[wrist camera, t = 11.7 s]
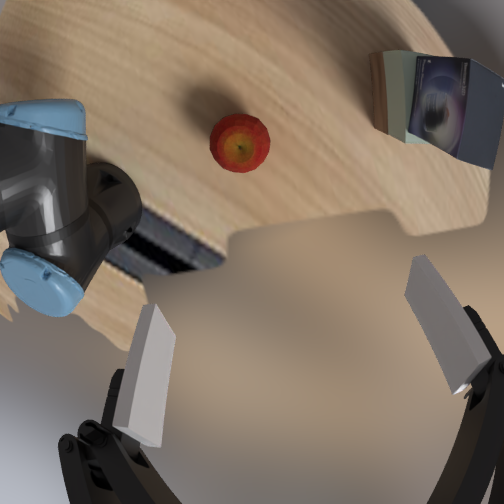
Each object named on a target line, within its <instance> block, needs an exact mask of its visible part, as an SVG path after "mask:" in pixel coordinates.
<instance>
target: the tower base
mask: <svg viewBox="0 0 504 504" xmlns="http://www.w3.org/2000/svg"><path fill="white" fill-rule="evenodd" d="M369 57H370V66H371V76H372V88H373V104H374V128H375V129H377V130H379V131H381V132H383V133H385V134H387V135H389V134H388V108H387V90H386V77H385V67H384V58H383V52H379V53H371V54H369Z"/></svg>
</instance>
